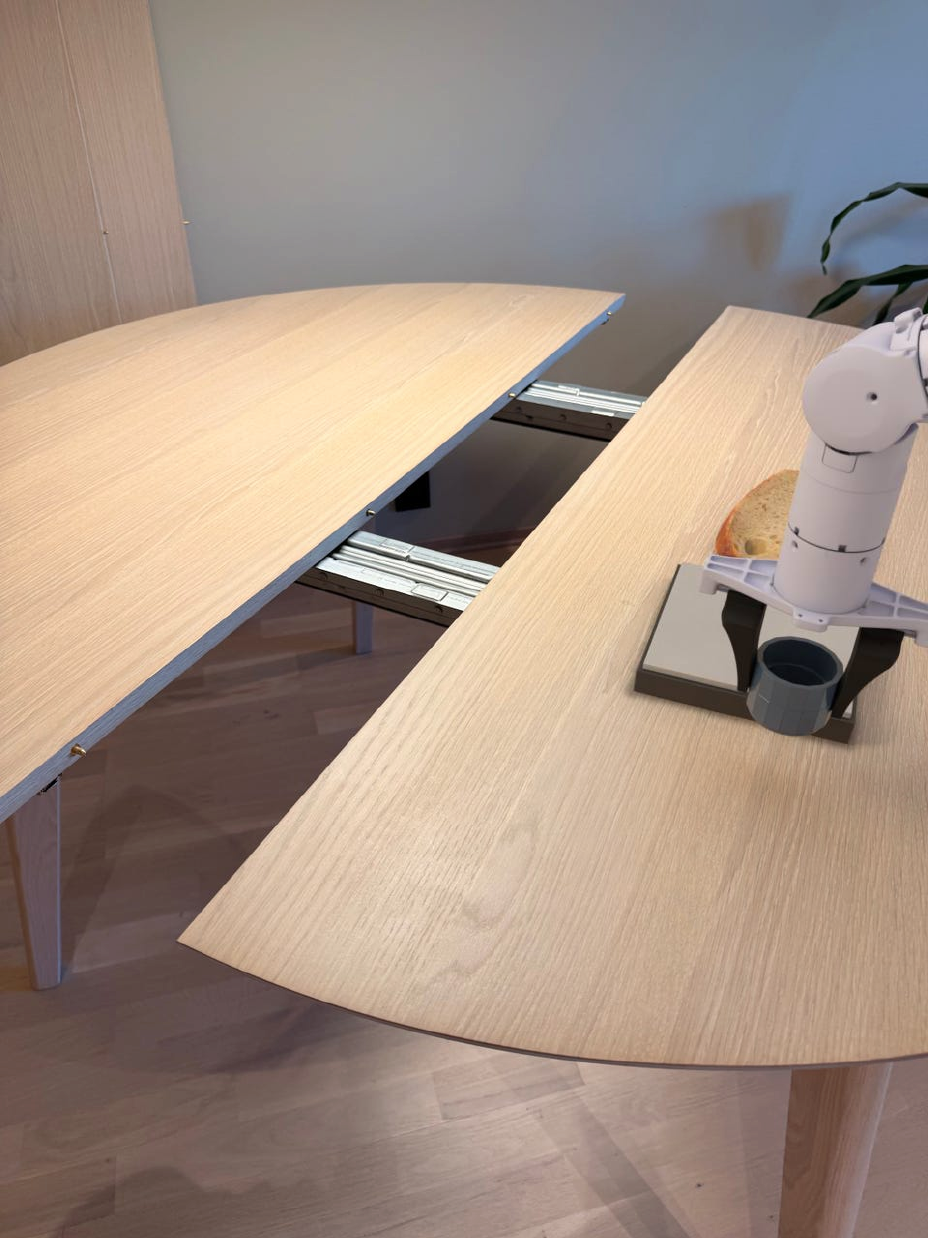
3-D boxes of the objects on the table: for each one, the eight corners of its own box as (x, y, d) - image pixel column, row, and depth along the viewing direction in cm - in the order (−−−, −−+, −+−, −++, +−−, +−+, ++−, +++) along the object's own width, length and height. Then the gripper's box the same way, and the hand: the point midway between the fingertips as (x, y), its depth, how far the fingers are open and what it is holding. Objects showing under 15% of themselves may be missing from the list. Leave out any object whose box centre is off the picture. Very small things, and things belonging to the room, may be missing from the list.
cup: (845, 721, 66) (861, 671, 63) (786, 750, 63) (800, 699, 61) (785, 675, 70) (798, 627, 67) (728, 701, 67) (739, 652, 65)
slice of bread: (808, 481, 107) (815, 451, 105) (906, 566, 94) (917, 534, 91) (662, 501, 104) (666, 471, 101) (742, 593, 90) (749, 560, 88)
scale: (850, 744, 74) (859, 718, 72) (633, 691, 79) (637, 665, 77) (862, 622, 86) (870, 597, 85) (674, 582, 91) (678, 558, 90)
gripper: (701, 532, 57) (671, 701, 65) (963, 591, 52) (895, 765, 60) (727, 481, 62) (696, 643, 70) (967, 530, 57) (904, 698, 65)
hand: (789, 696), depth 66 cm, fingers closed on cup, 6 cm apart
